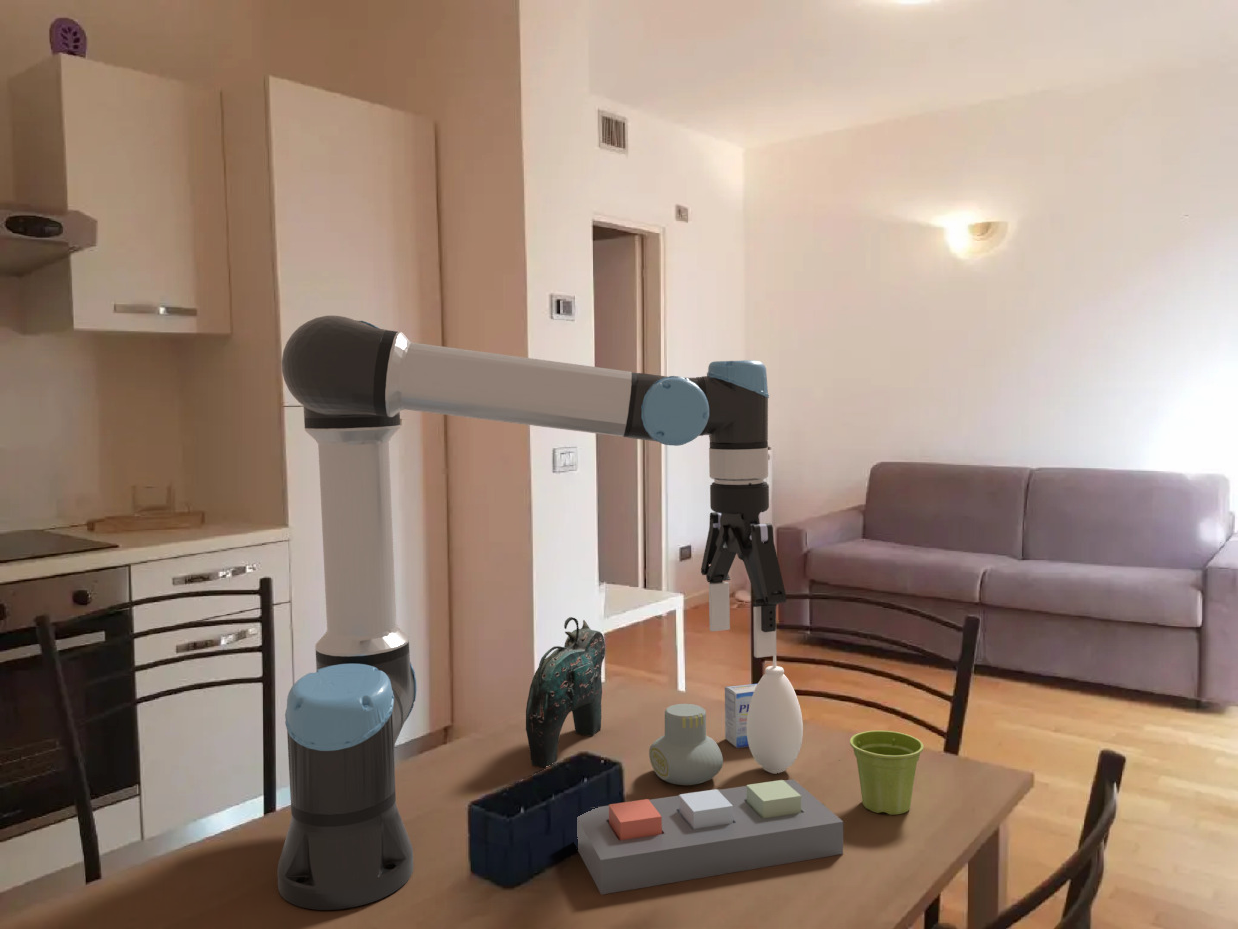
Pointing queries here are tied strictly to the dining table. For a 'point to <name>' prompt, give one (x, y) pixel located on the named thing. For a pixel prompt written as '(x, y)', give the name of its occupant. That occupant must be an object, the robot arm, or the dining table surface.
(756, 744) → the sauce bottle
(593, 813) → the button panel
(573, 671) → the dark green metal figure
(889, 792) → the plant pot
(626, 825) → the red button
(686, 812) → the white button
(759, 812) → the green button
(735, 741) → the medicine box
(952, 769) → the dining table surface
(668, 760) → the air freshener
